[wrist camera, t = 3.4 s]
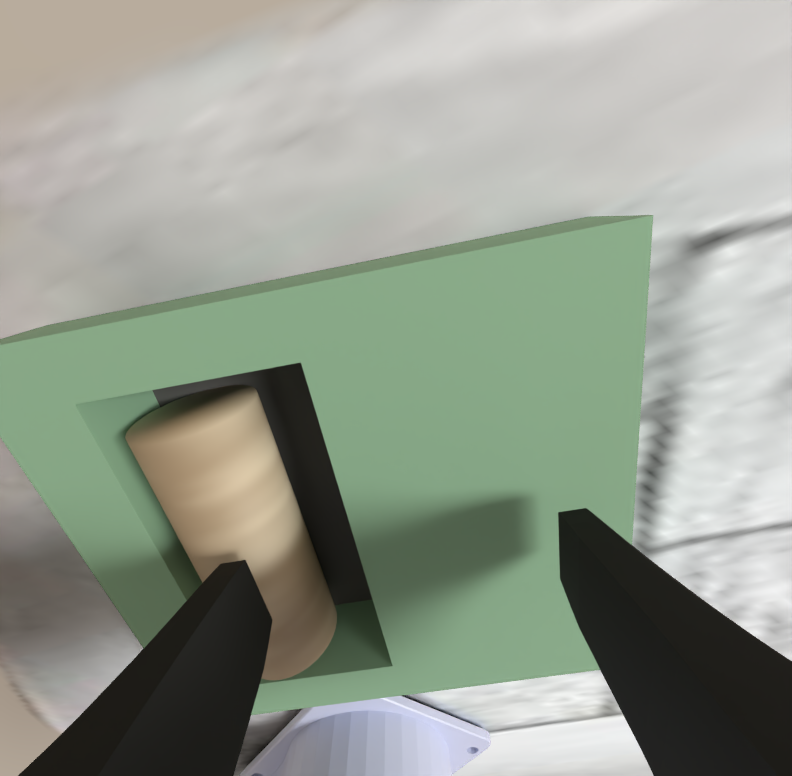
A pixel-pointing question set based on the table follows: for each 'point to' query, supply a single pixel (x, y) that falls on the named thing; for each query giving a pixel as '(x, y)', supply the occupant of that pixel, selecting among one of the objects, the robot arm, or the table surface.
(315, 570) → the roller
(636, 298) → the green slotted board
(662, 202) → the table surface
